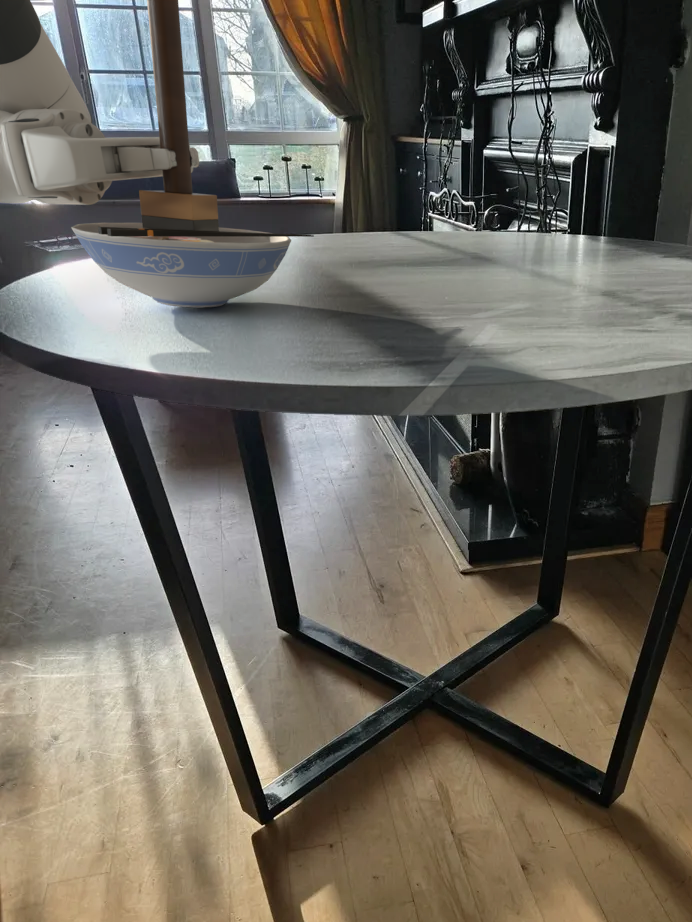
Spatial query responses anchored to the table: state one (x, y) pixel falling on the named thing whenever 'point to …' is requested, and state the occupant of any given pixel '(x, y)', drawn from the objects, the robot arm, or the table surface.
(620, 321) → the table surface
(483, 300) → the table surface
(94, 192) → the robot arm
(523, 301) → the table surface
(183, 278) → the ramen bowl
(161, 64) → the brush
